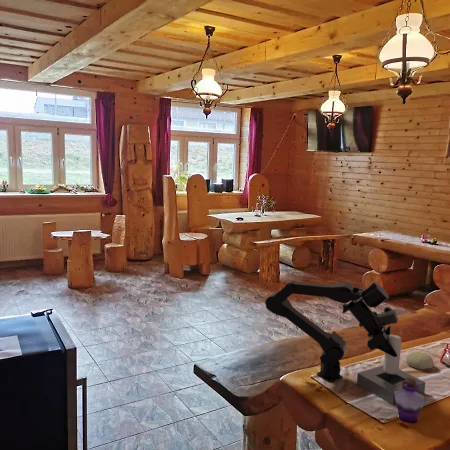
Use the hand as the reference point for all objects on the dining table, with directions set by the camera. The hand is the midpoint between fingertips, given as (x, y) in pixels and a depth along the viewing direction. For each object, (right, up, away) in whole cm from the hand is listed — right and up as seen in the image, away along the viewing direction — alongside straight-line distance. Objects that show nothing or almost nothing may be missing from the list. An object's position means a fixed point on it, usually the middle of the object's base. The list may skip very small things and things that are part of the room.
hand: (396, 353), depth 146 cm
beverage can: (-1, -7, +2) cm, 7 cm away
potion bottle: (-2, -15, -15) cm, 21 cm away
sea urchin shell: (+16, -11, +20) cm, 28 cm away
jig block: (-1, -12, +2) cm, 13 cm away
